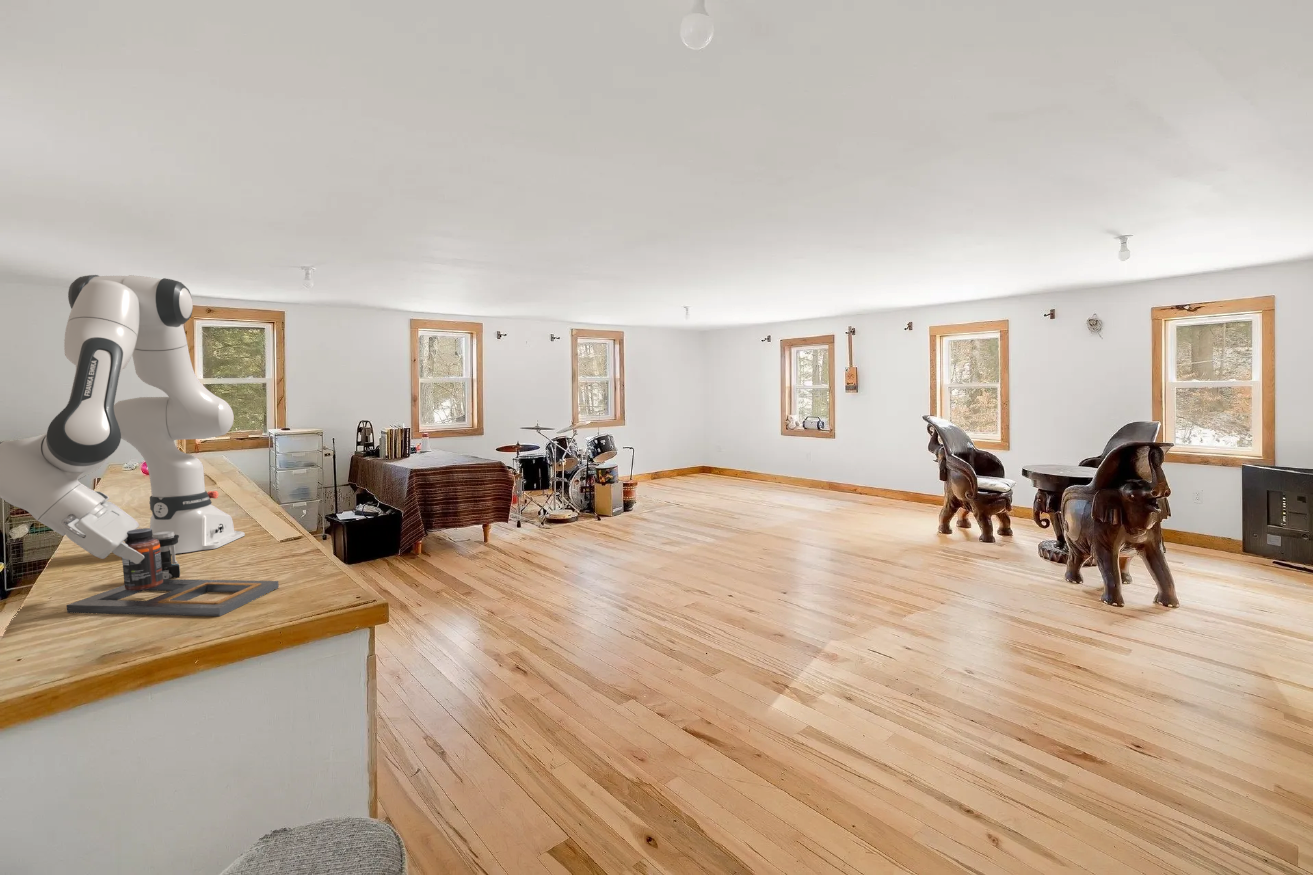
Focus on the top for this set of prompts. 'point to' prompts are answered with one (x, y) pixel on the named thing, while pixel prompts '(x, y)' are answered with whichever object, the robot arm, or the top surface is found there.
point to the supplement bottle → (143, 561)
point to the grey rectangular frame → (176, 598)
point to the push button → (168, 554)
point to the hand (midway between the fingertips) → (145, 555)
